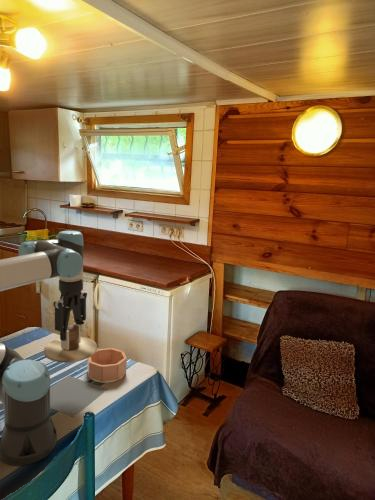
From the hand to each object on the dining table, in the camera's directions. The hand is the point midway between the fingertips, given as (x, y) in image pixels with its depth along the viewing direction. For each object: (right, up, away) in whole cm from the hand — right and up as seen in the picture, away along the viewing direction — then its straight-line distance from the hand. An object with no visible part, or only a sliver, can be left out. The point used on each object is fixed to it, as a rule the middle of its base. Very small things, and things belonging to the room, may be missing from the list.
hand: (71, 345), depth 125 cm
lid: (0, -2, 0) cm, 2 cm away
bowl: (+8, -16, +19) cm, 26 cm away
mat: (-1, -18, +4) cm, 19 cm away
